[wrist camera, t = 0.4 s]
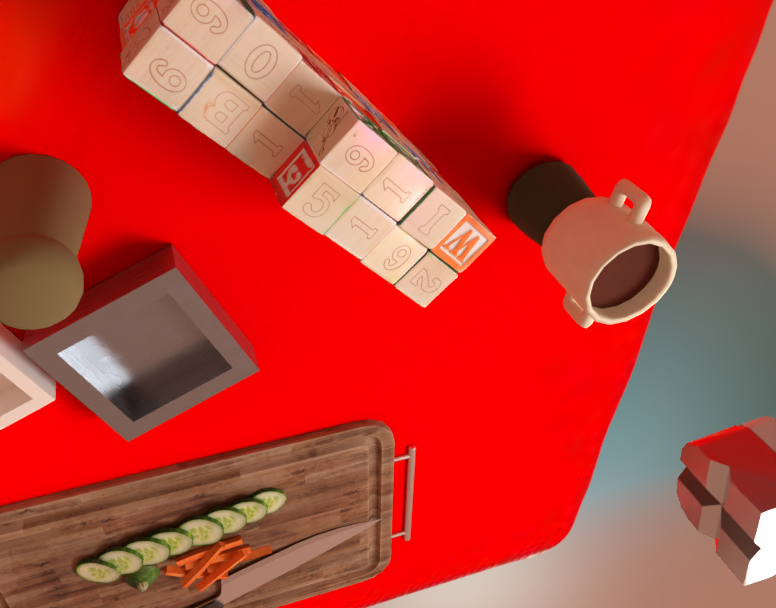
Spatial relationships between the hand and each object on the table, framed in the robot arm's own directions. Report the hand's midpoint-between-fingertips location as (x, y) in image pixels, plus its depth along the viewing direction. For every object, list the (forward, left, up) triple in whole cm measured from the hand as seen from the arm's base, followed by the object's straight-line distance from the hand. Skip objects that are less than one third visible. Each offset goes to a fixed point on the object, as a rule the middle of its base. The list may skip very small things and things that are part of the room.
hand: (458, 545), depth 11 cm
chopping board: (+46, -27, -38) cm, 66 cm away
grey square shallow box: (+20, -16, -38) cm, 45 cm away
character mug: (+26, +16, -38) cm, 48 cm away
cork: (+7, -15, -38) cm, 41 cm away
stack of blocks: (+9, +2, -38) cm, 39 cm away
